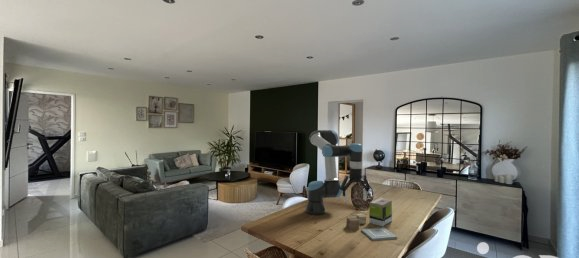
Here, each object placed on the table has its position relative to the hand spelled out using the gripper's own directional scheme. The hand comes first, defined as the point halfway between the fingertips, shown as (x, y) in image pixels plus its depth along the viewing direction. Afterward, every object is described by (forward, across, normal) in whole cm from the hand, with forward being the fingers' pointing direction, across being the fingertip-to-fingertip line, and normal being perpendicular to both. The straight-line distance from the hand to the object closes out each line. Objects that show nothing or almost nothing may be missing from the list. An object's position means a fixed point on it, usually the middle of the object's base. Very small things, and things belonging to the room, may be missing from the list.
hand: (355, 200), depth 161 cm
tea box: (+19, +24, +10) cm, 33 cm away
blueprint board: (+19, +12, -9) cm, 24 cm away
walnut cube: (+19, 0, +4) cm, 20 cm away
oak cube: (+19, +10, +12) cm, 25 cm away
